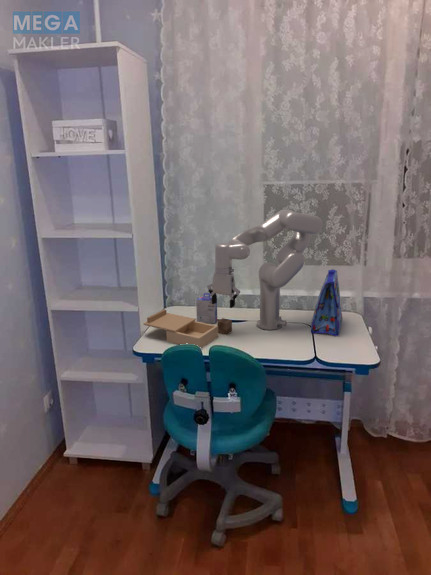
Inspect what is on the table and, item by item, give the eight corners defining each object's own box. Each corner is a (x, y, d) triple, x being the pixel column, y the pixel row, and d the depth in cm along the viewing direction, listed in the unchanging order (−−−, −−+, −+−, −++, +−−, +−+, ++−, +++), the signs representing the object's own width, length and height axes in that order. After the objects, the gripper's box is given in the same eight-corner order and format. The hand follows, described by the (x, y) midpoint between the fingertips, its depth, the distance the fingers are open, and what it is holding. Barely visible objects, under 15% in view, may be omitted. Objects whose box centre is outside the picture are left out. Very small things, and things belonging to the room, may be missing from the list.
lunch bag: (339, 336, 215) (343, 277, 206) (309, 333, 219) (312, 274, 210) (342, 320, 234) (346, 264, 226) (315, 317, 239) (318, 262, 230)
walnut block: (231, 331, 223) (231, 319, 222) (226, 335, 219) (226, 323, 218) (222, 329, 226) (222, 318, 224) (217, 333, 222) (217, 321, 220)
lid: (195, 320, 223) (195, 314, 222) (175, 332, 209) (174, 325, 208) (164, 313, 232) (164, 307, 231) (143, 324, 219) (143, 318, 218)
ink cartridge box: (217, 319, 238) (217, 292, 234) (215, 323, 233) (215, 296, 229) (199, 318, 240) (198, 292, 236) (196, 322, 235) (195, 295, 231)
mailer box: (218, 336, 218) (218, 326, 216) (199, 349, 205) (199, 338, 203) (186, 329, 227) (186, 319, 225) (166, 341, 214) (166, 330, 212)
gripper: (243, 270, 212) (243, 306, 217) (211, 265, 221) (211, 299, 226) (235, 274, 206) (235, 311, 211) (203, 269, 214) (203, 304, 220)
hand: (223, 305), depth 218 cm, fingers open, 9 cm apart
